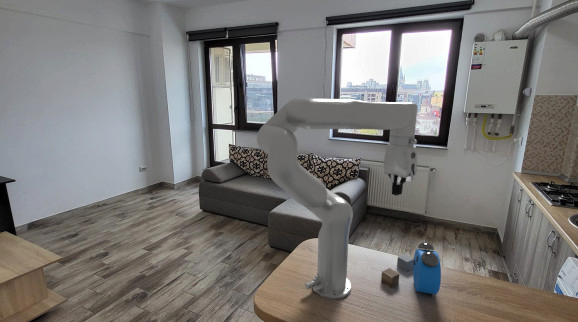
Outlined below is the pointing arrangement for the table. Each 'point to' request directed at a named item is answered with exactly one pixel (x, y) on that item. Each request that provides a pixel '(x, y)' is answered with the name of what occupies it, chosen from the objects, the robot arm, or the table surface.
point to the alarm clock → (426, 269)
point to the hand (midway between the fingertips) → (396, 194)
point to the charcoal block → (405, 262)
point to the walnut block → (390, 277)
